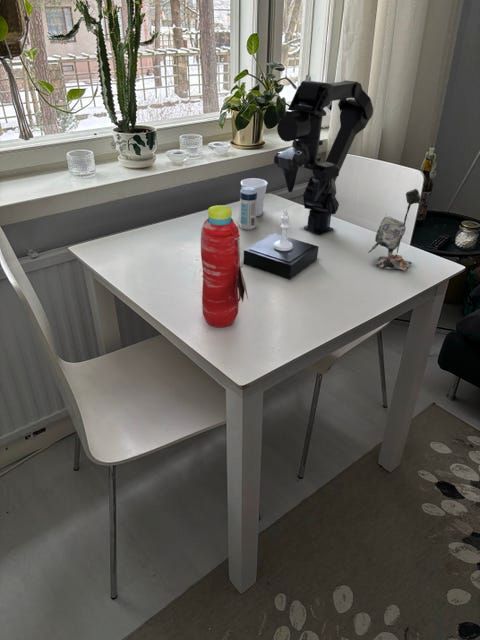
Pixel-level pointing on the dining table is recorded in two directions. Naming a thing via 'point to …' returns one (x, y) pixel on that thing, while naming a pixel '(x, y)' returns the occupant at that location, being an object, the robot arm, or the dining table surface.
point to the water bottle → (221, 267)
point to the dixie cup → (260, 189)
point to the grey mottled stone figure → (394, 236)
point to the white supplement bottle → (248, 207)
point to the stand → (280, 256)
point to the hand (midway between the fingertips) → (302, 196)
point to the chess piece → (284, 235)
